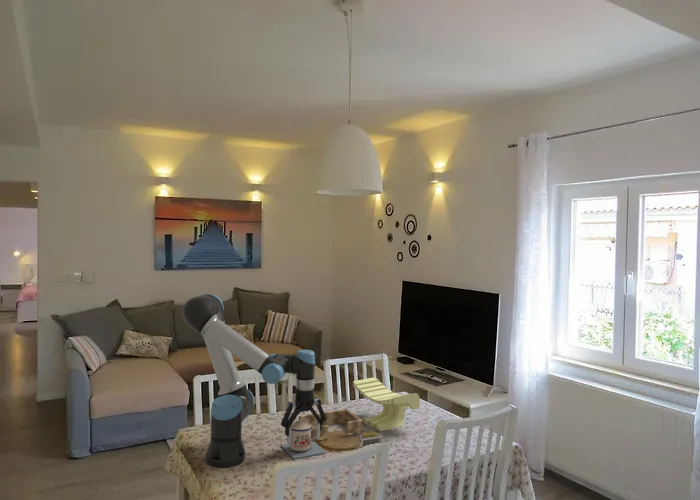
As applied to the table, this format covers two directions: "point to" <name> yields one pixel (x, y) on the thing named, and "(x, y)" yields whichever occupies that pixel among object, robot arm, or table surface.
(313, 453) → the mat
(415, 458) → the table surface
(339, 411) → the open enclosure
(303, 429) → the teacup with lid
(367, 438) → the platform
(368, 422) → the slatted curved stool
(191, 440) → the table surface
